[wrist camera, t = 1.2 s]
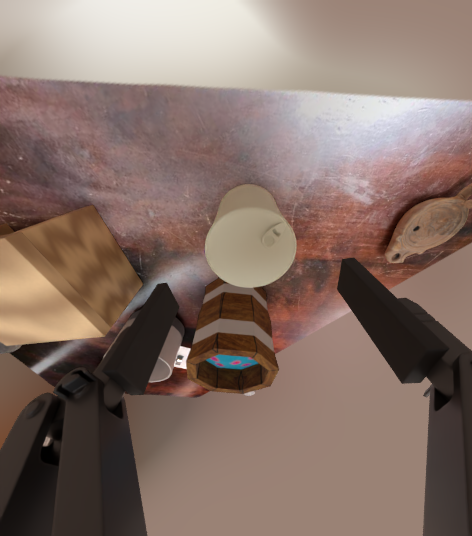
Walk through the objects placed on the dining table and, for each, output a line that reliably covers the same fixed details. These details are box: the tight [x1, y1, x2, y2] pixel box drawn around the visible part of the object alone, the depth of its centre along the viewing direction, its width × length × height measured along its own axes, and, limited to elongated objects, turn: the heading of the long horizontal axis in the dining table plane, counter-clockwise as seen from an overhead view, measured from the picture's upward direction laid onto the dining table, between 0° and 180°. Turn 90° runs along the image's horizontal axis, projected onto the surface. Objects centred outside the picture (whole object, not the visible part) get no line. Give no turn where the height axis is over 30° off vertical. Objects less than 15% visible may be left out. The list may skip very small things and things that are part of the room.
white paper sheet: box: [174, 346, 190, 369], centre depth 51 cm, size 12×12×2 cm
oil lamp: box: [385, 184, 472, 263], centre depth 24 cm, size 13×8×5 cm, turn 150°
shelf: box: [0, 205, 143, 346], centre depth 27 cm, size 16×18×12 cm
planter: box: [103, 310, 185, 382], centre depth 38 cm, size 13×13×10 cm
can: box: [205, 184, 297, 288], centre depth 22 cm, size 9×9×12 cm
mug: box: [186, 278, 279, 396], centre depth 32 cm, size 20×14×15 cm
